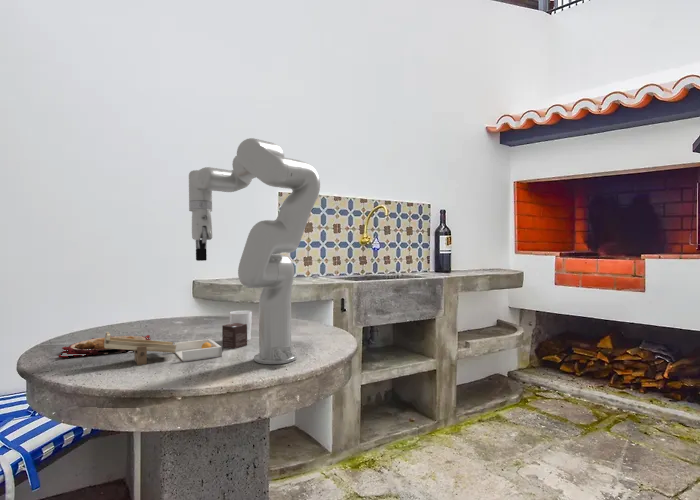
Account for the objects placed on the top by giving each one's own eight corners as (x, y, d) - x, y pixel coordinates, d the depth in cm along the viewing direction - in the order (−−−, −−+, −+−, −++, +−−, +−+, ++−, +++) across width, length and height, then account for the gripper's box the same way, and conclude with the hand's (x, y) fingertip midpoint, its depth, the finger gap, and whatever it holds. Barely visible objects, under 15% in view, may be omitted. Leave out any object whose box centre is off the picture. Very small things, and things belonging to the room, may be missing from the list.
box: (235, 343, 160) (234, 322, 160) (247, 345, 157) (247, 324, 157) (221, 347, 155) (221, 325, 154) (234, 349, 152) (234, 327, 151)
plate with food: (153, 352, 150) (153, 341, 150) (58, 360, 139) (58, 348, 139) (149, 339, 172) (149, 330, 172) (67, 345, 161) (67, 335, 161)
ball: (213, 351, 145) (211, 342, 145) (203, 354, 144) (202, 344, 144) (210, 349, 148) (209, 340, 148) (201, 352, 147) (199, 343, 146)
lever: (174, 352, 138) (177, 340, 139) (104, 348, 128) (107, 335, 129) (167, 344, 149) (169, 333, 149) (102, 339, 139) (104, 328, 140)
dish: (222, 356, 141) (221, 346, 141) (183, 361, 135) (183, 351, 135) (210, 347, 153) (210, 338, 153) (174, 352, 147) (174, 342, 147)
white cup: (249, 342, 162) (248, 313, 162) (227, 342, 162) (226, 313, 162) (254, 337, 170) (254, 310, 170) (233, 337, 170) (232, 310, 170)
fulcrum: (146, 364, 133) (146, 346, 133) (137, 365, 132) (137, 347, 132) (143, 358, 140) (142, 341, 140) (134, 359, 139) (134, 342, 139)
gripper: (217, 205, 153) (218, 261, 153) (206, 208, 165) (206, 259, 166) (194, 205, 149) (194, 261, 149) (184, 208, 161) (185, 260, 162)
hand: (201, 260), depth 157 cm, fingers closed
